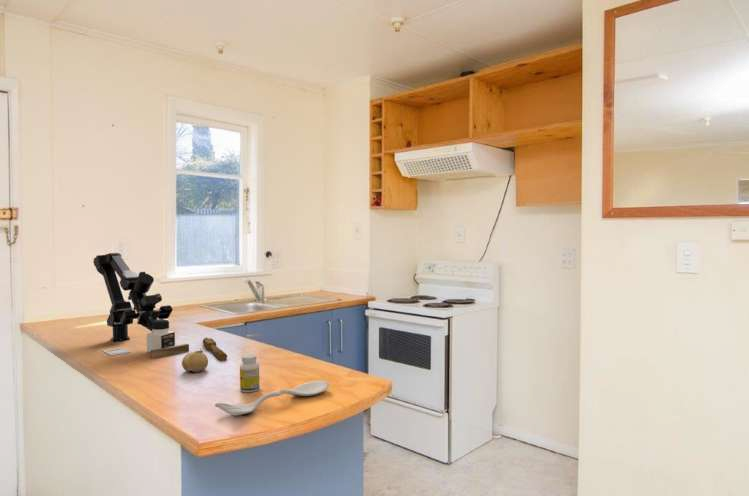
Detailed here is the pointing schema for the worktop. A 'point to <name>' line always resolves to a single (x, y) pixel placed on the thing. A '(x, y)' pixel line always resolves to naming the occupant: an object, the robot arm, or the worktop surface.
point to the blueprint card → (116, 351)
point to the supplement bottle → (249, 374)
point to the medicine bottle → (160, 335)
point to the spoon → (300, 390)
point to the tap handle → (214, 348)
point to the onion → (195, 361)
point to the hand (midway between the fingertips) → (155, 331)
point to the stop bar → (169, 350)
